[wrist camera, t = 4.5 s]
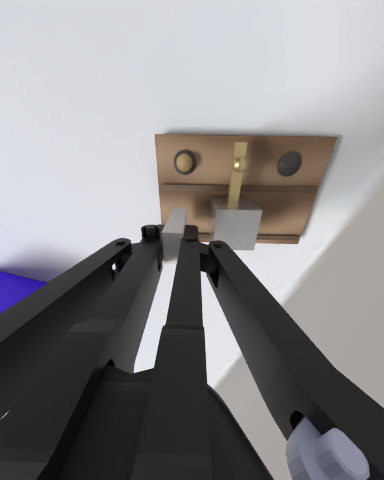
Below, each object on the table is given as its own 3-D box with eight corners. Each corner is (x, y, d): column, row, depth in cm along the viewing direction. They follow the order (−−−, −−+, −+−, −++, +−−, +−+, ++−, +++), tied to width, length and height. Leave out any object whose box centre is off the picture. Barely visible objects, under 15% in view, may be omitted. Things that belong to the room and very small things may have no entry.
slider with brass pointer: (214, 144, 16) (222, 138, 11) (255, 144, 16) (278, 139, 11) (208, 229, 20) (212, 249, 16) (240, 229, 20) (253, 250, 15)
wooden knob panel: (158, 136, 17) (152, 132, 15) (325, 138, 17) (345, 135, 15) (165, 235, 23) (161, 244, 20) (291, 238, 22) (302, 247, 20)
